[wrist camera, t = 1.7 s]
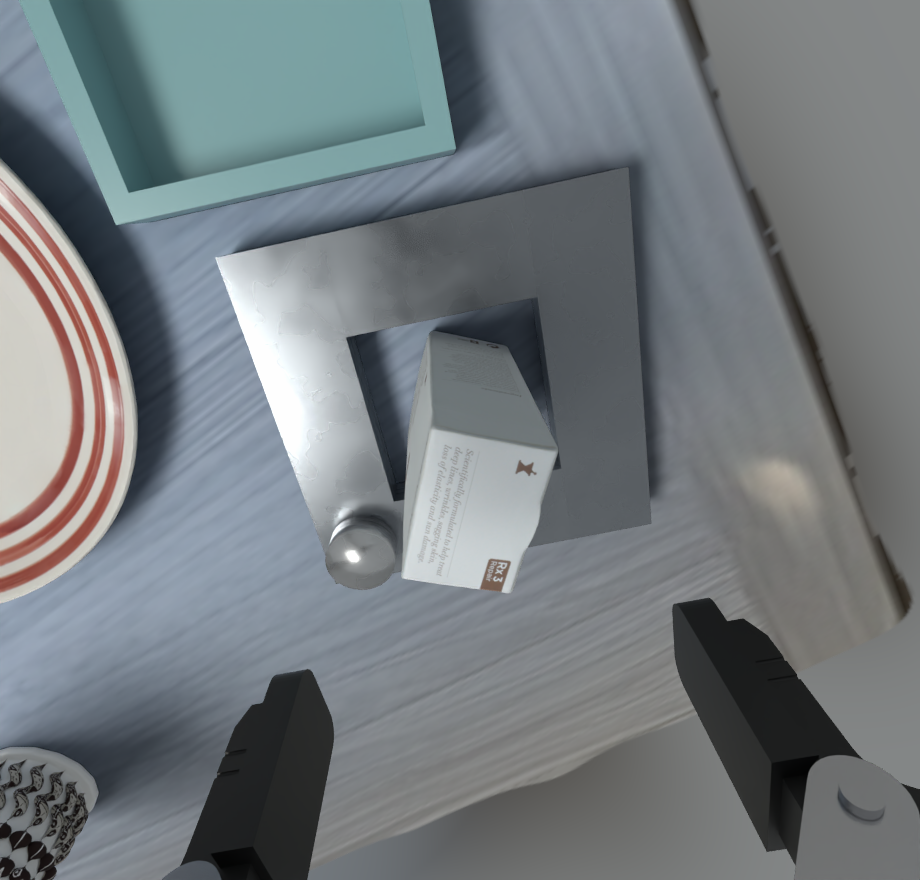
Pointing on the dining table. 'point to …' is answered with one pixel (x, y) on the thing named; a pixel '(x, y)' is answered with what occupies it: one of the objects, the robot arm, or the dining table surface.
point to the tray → (241, 95)
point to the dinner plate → (56, 399)
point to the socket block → (438, 295)
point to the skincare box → (472, 466)
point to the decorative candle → (40, 810)
